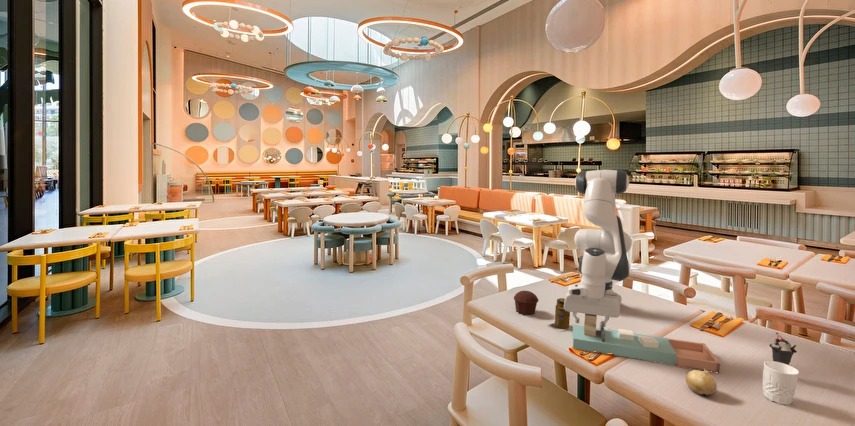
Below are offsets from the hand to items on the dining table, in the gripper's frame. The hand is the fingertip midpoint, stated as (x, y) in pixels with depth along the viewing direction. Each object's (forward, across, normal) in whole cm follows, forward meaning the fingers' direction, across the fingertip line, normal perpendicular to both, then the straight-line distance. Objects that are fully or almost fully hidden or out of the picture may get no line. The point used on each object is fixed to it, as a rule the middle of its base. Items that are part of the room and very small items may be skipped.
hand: (590, 324), depth 152 cm
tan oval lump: (+8, -31, +23) cm, 39 cm away
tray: (+8, -35, 0) cm, 35 cm away
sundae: (+8, -59, +3) cm, 60 cm away
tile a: (+4, -13, -2) cm, 14 cm away
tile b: (+4, -20, +2) cm, 20 cm away
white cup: (+8, -52, +19) cm, 56 cm away
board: (+8, -11, 0) cm, 14 cm away
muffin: (+8, +27, -25) cm, 38 cm away
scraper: (+4, -2, 0) cm, 4 cm away
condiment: (+8, +11, -13) cm, 19 cm away
